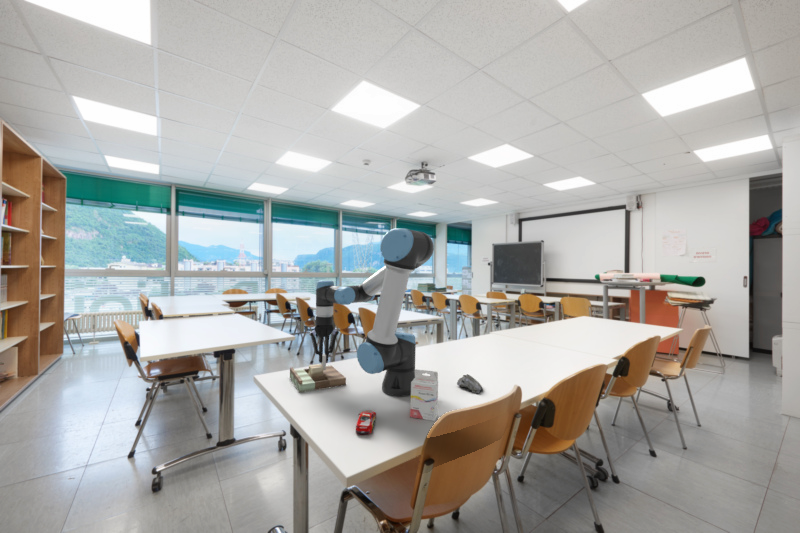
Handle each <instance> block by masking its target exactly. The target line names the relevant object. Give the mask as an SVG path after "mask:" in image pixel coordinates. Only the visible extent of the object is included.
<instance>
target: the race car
mask: <svg viewBox="0 0 800 533" xmlns="http://www.w3.org/2000/svg"><path fill="white" fill-rule="evenodd" d="M358 416H359V417H358V419H357V421H356V425H355V433H356V434H361V435H370V434H372V433H373V432H374V427H375V423H376V419H377V413H376V412H375V411H373V410H362V411H361V412H360V413H358Z"/></svg>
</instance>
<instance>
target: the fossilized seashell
mask: <svg viewBox="0 0 800 533" xmlns="http://www.w3.org/2000/svg"><path fill="white" fill-rule="evenodd" d="M456 385H457V386H459V387H462V388H464V389H465V388H466V389H468V390H470V391H471V393H472V394H479V393H480V392H481V391H483V390H484V388H483V386H482V384H481V383H480V382H479V381H478V380H476V379H475V378H474V377H473V376H472V375H470V374H463V375H462V377H460V378H459V379H458V380H457V382H456Z"/></svg>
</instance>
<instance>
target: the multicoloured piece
mask: <svg viewBox="0 0 800 533" xmlns="http://www.w3.org/2000/svg"><path fill="white" fill-rule="evenodd" d="M289 378H290V380H291V382H292V384H294V387H295V388H296V389H297V391H298V393H305V391H306V392H311V391H318V390H324V389H330V388H329V387H331V388H336V387H335V386H337V387H341V385H343V386H347V384H346V383H347V377H345V375H343V374H342V373H341V372H340V371H338V369H336V368H335V367H334V366H333V365H326V370H324V371H323V375H321V376H314V377H311V376H310V375H309V368H304V369H303V368H300V369H294V368H293V367H292V366H290V367H289Z"/></svg>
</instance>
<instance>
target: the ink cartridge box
mask: <svg viewBox="0 0 800 533" xmlns="http://www.w3.org/2000/svg"><path fill="white" fill-rule="evenodd" d="M425 374H427V375H425ZM438 376H439V375H438V371H432V370H425V369H418V368H417V369H416V368H415V378H414V379H413V381H412V382H411V395H410V404H409V406H410V409H409V413H410V414H409V416H410V418H414V419H420V420H427V421H432V422H436V419H437V417H438V408H439V406H438V405H439V404H438V403H439V379H438V378H439V377H438Z"/></svg>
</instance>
